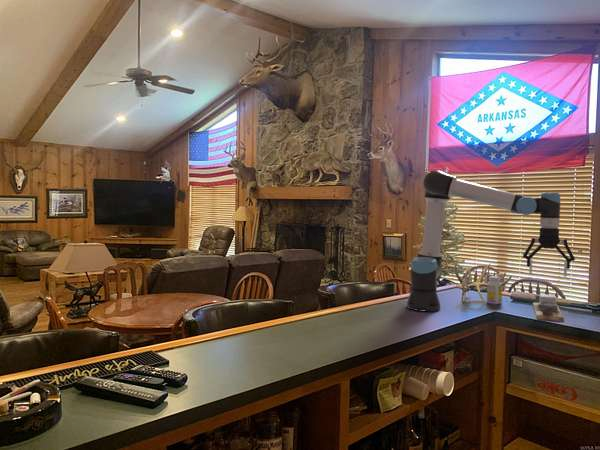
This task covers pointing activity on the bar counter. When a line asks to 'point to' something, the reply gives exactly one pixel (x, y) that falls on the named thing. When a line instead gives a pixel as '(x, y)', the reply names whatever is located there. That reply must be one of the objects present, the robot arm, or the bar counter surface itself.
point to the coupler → (547, 299)
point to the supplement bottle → (494, 290)
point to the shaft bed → (547, 317)
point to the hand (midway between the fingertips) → (547, 275)
